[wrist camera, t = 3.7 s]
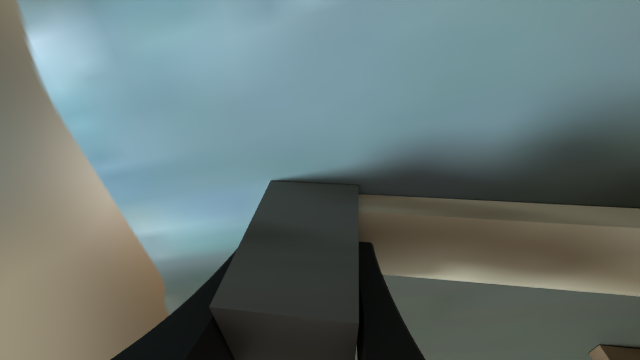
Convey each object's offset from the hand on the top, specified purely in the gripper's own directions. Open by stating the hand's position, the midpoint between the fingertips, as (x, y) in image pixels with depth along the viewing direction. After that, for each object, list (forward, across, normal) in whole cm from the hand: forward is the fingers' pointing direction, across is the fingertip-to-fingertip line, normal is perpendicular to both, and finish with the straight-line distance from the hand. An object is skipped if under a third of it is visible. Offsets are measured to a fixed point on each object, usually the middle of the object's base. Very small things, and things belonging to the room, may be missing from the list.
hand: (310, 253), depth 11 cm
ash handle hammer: (+2, -7, 0) cm, 7 cm away
